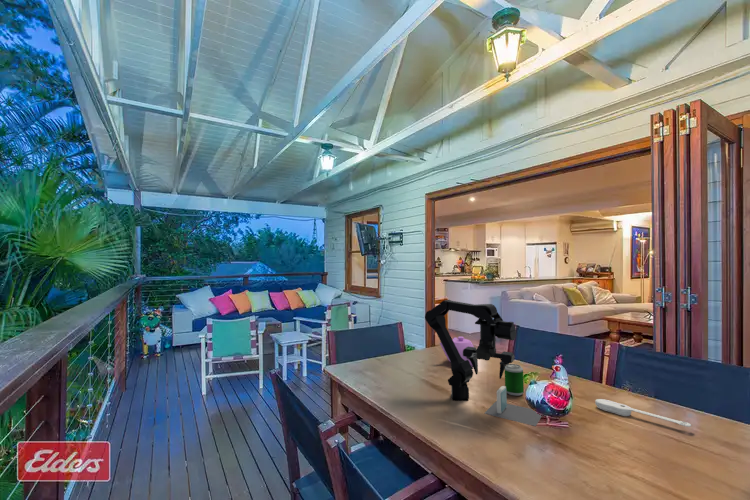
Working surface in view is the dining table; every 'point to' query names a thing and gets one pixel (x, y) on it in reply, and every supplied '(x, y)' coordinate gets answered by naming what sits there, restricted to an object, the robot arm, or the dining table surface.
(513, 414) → the mat
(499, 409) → the tile
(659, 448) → the dining table surface
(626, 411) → the spatula
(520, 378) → the soda can
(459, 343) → the teapot
